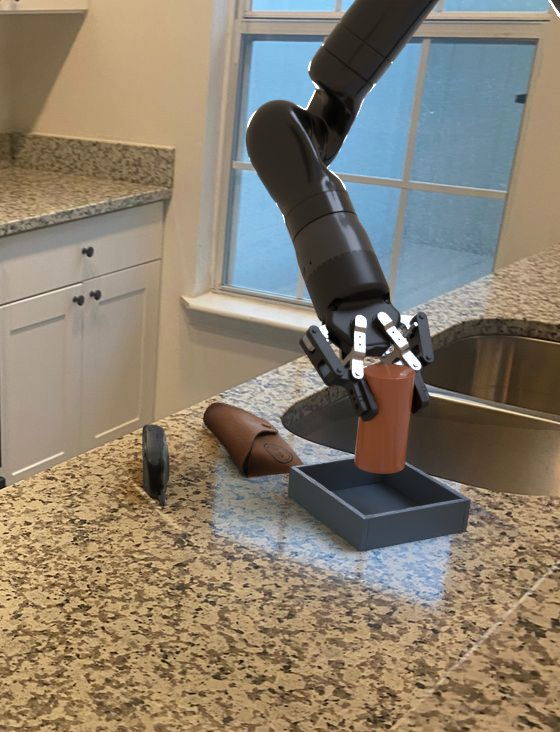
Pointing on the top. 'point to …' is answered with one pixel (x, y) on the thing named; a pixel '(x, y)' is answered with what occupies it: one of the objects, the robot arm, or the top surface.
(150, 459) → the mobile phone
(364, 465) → the reddish orange cylinder
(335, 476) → the plastic tray
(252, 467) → the sunglasses case
